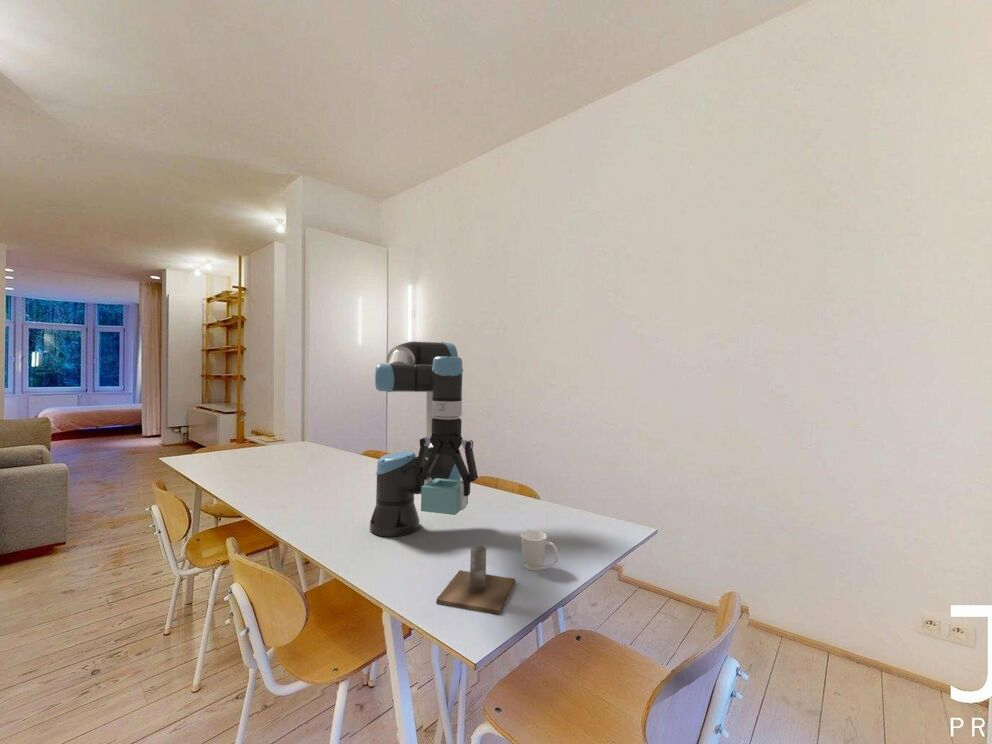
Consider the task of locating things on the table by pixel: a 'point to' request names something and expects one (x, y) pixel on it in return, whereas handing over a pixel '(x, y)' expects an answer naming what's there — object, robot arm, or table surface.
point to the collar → (441, 496)
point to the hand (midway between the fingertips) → (445, 506)
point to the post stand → (477, 587)
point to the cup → (535, 549)
